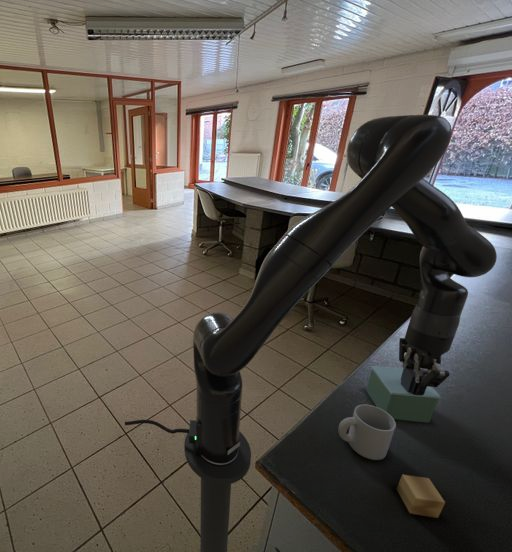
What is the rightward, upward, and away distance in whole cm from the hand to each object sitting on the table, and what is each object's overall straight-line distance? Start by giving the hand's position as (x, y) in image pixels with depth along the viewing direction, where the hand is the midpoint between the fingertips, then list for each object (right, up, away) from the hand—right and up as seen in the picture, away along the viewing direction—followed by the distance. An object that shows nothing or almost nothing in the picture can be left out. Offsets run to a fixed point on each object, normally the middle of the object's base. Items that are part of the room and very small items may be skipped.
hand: (411, 387), depth 71 cm
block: (-13, -16, -15) cm, 26 cm away
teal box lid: (+1, 0, +3) cm, 3 cm away
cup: (-15, -12, -4) cm, 20 cm away
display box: (+1, -7, +6) cm, 9 cm away
